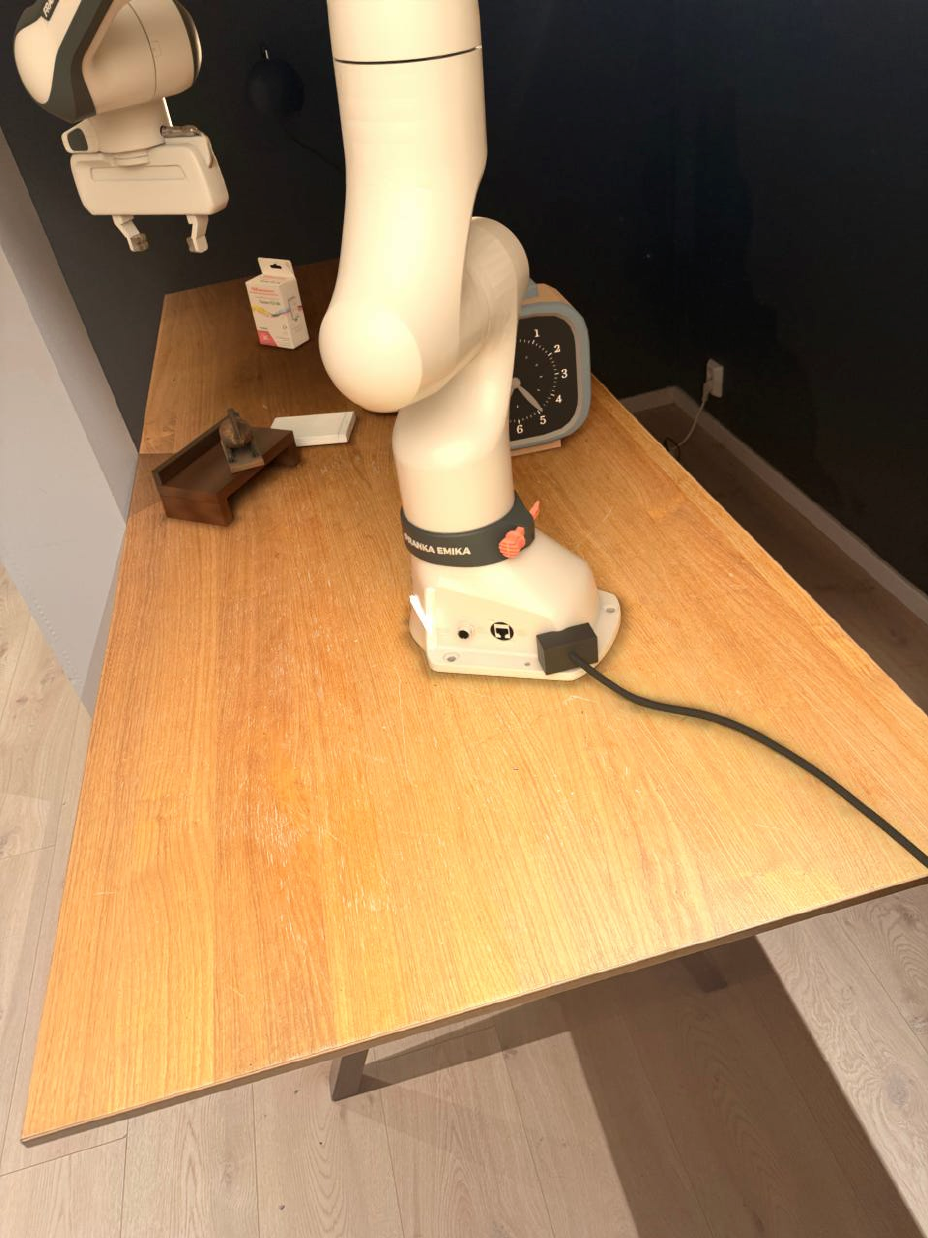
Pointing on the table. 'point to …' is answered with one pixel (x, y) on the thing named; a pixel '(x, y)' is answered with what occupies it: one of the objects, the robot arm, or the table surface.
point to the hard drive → (318, 427)
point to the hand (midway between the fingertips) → (169, 250)
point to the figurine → (239, 443)
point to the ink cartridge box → (277, 305)
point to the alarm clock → (548, 372)
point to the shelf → (215, 474)
